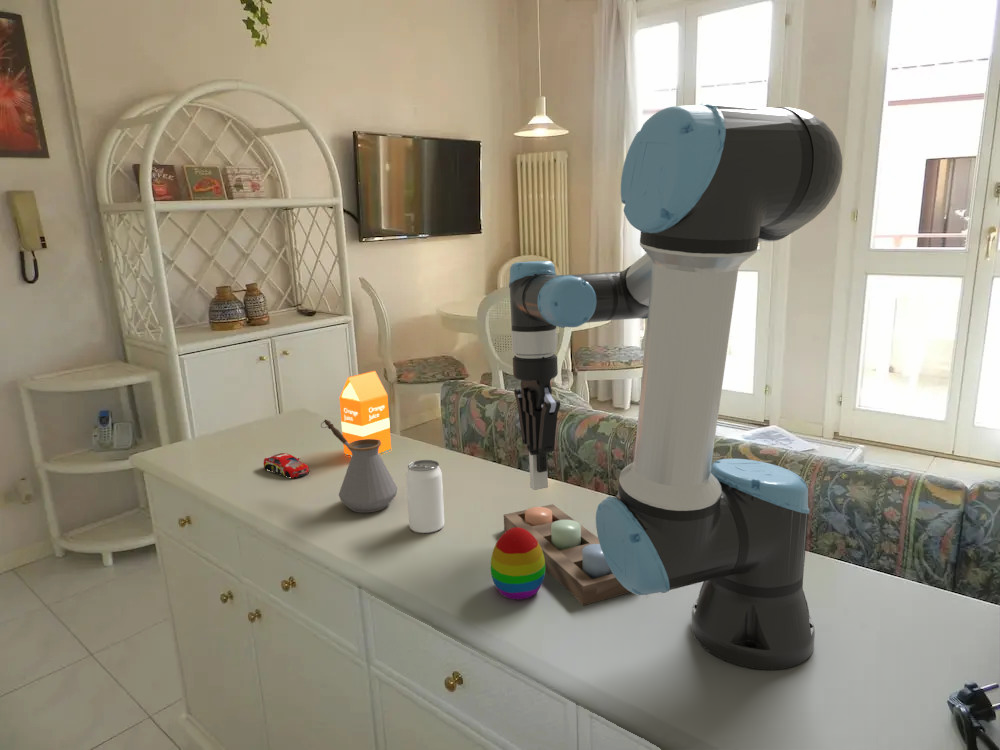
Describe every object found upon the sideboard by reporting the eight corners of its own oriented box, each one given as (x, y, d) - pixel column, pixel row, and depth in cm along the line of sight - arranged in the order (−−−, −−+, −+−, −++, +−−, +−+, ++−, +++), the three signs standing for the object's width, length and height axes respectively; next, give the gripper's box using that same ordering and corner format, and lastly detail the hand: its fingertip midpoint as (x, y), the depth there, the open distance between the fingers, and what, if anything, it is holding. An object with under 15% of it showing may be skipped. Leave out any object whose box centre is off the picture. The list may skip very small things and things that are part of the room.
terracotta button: (557, 534, 120) (556, 514, 120) (532, 539, 118) (532, 520, 118) (544, 524, 125) (544, 505, 124) (520, 529, 123) (520, 510, 122)
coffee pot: (409, 504, 136) (404, 432, 133) (359, 522, 129) (353, 446, 126) (353, 478, 152) (347, 413, 149) (305, 493, 144) (299, 424, 141)
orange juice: (391, 450, 170) (386, 372, 166) (364, 460, 163) (358, 379, 159) (370, 445, 175) (365, 368, 170) (343, 454, 168) (336, 375, 164)
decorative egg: (505, 572, 108) (503, 513, 106) (553, 582, 105) (552, 522, 103) (482, 598, 101) (479, 535, 99) (533, 609, 98) (531, 545, 95)
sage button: (586, 549, 111) (586, 528, 110) (560, 556, 109) (560, 534, 108) (571, 537, 115) (571, 517, 115) (546, 543, 114) (546, 523, 113)
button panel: (641, 588, 102) (641, 570, 101) (583, 605, 98) (583, 586, 98) (553, 519, 127) (552, 504, 127) (504, 530, 123) (503, 514, 123)
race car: (313, 475, 156) (312, 458, 155) (292, 482, 152) (291, 465, 151) (281, 463, 164) (280, 447, 163) (261, 470, 160) (259, 453, 159)
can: (438, 535, 122) (435, 471, 120) (404, 533, 123) (400, 470, 121) (448, 520, 128) (445, 459, 126) (415, 518, 130) (412, 458, 127)
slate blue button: (620, 577, 102) (620, 554, 101) (593, 584, 100) (593, 561, 99) (603, 563, 106) (603, 541, 106) (576, 570, 105) (576, 547, 104)
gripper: (573, 357, 110) (576, 495, 115) (537, 347, 122) (541, 473, 127) (531, 362, 107) (536, 503, 112) (498, 351, 119) (504, 480, 124)
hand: (539, 487), depth 119 cm, fingers closed
